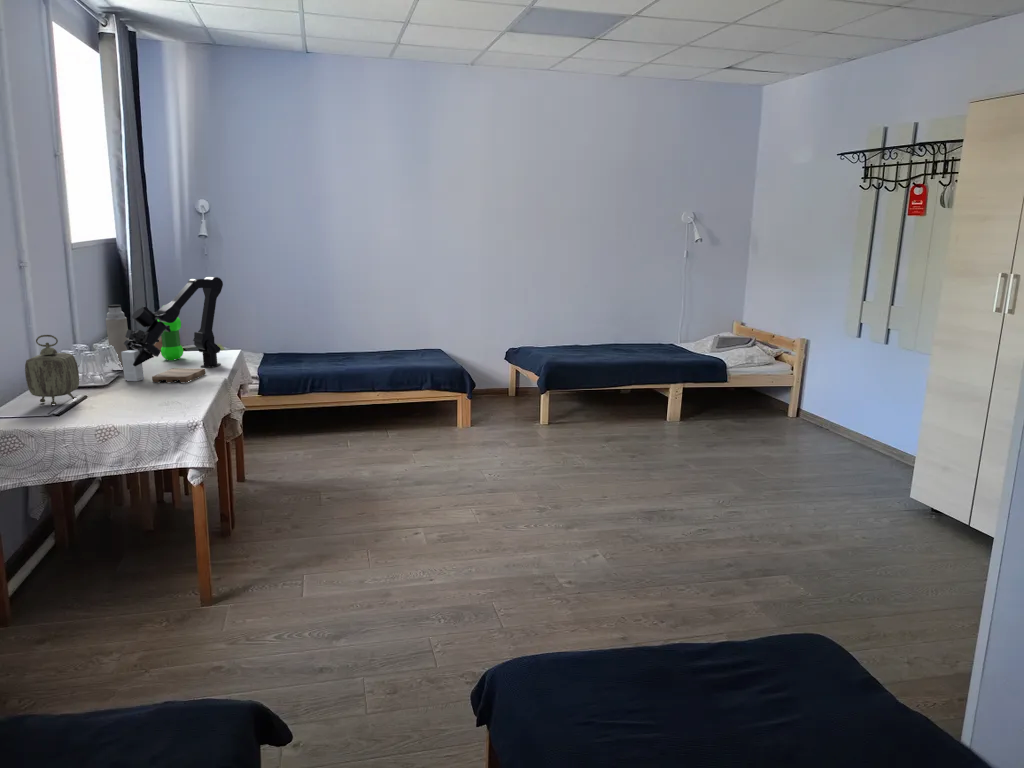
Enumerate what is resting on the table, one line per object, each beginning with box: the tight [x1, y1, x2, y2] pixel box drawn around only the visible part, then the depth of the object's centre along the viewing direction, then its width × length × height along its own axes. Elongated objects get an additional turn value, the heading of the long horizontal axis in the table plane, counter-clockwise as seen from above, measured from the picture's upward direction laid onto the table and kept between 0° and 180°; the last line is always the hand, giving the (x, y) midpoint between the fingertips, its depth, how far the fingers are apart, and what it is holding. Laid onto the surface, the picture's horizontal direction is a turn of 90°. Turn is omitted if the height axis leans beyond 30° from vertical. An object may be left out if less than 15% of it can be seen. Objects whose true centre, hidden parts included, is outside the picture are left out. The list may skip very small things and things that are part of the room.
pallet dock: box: [151, 367, 206, 383], centre depth 304 cm, size 16×14×2 cm
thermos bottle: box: [105, 304, 130, 367], centre depth 321 cm, size 8×8×28 cm
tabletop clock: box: [24, 334, 80, 406], centre depth 262 cm, size 14×9×25 cm, turn 100°
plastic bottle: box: [156, 304, 184, 361], centre depth 341 cm, size 10×10×25 cm
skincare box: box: [121, 350, 145, 382], centre depth 301 cm, size 6×4×12 cm
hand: (129, 364), depth 299 cm, fingers closed on skincare box, 7 cm apart
